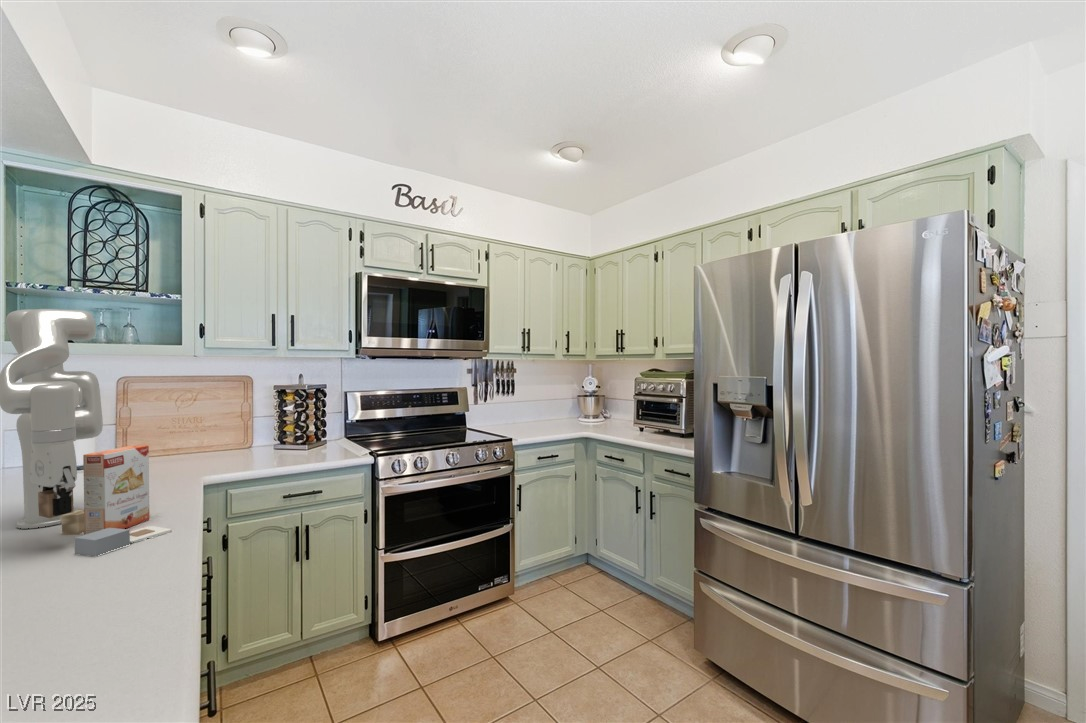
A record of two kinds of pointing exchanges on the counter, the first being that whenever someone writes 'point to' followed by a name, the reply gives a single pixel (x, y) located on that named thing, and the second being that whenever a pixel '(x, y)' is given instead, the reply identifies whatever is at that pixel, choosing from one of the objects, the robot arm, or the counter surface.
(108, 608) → the counter surface
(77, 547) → the base block
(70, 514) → the maple block
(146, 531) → the tile
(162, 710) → the counter surface
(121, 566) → the counter surface
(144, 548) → the counter surface
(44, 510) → the walnut block
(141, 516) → the cracker box
